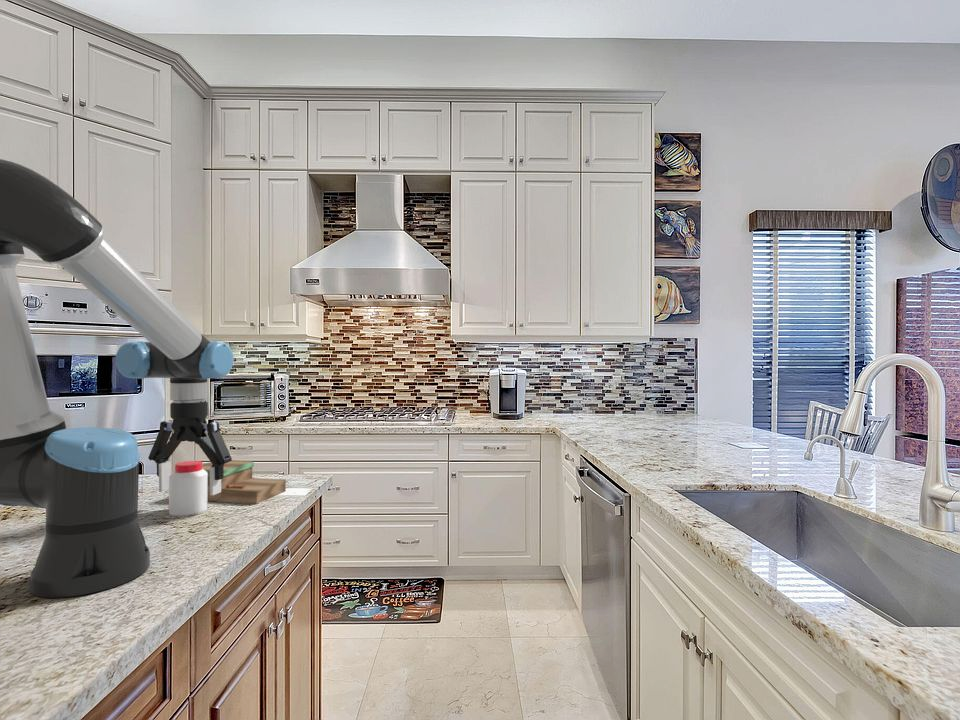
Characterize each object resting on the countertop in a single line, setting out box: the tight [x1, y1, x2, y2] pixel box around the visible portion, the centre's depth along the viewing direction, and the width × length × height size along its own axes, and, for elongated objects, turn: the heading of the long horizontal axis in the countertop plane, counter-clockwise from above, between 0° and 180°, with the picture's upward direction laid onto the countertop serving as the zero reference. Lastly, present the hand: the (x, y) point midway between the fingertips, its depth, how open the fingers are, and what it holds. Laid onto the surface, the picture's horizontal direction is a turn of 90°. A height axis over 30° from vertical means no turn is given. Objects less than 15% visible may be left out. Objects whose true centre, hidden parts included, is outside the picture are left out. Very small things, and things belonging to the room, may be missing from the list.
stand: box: [202, 459, 287, 505], centre depth 127 cm, size 12×20×8 cm, turn 79°
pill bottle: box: [168, 460, 209, 517], centre depth 114 cm, size 8×8×11 cm
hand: (190, 492), depth 114 cm, fingers open, 13 cm apart
